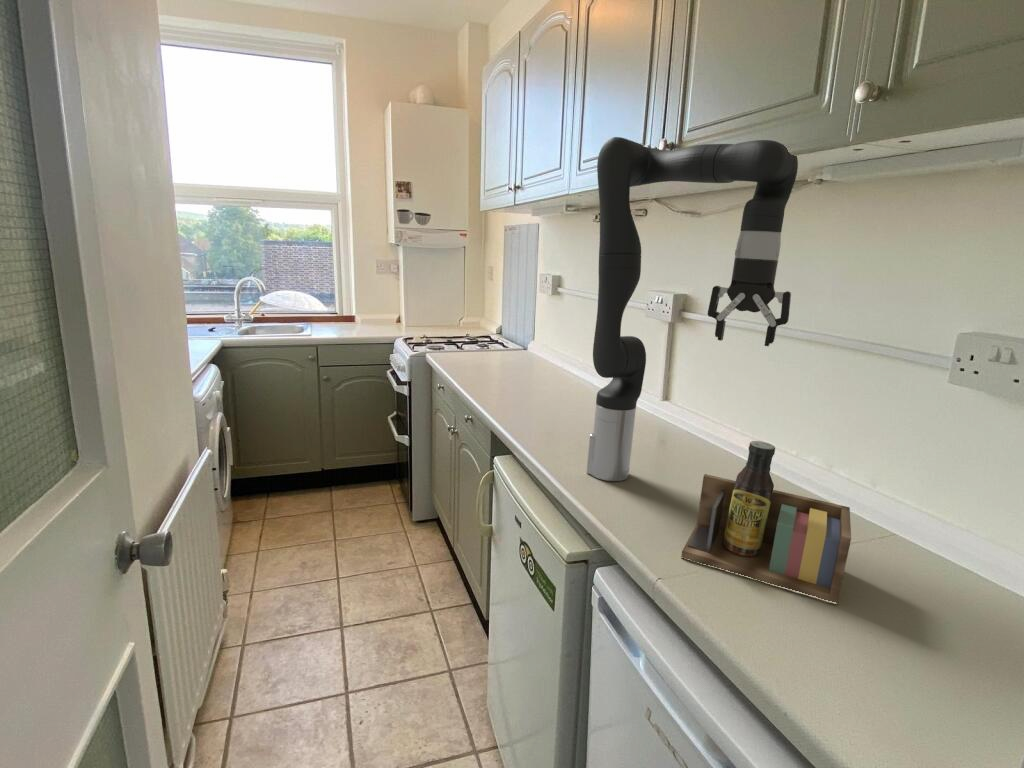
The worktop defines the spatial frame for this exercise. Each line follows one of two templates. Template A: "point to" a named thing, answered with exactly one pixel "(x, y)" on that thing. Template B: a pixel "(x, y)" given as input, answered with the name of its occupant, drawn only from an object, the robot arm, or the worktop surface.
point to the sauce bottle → (750, 502)
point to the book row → (805, 545)
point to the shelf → (767, 539)
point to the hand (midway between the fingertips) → (742, 342)
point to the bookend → (707, 536)
